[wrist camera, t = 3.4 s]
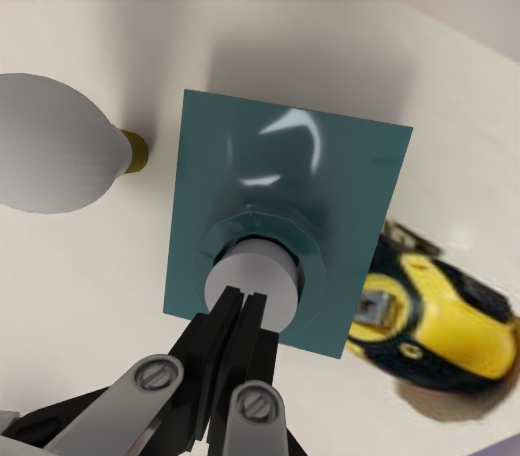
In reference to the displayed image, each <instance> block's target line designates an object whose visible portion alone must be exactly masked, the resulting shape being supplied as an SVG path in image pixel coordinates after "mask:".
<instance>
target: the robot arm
mask: <svg viewBox="0 0 520 456" xmlns="http://www.w3.org/2000/svg"><path fill="white" fill-rule="evenodd" d="M243 300H244V293H242V292H240V288H237V287H233V286H228V285H227V286H226V288H225V289H224V291H223V292H222V294H221V296H220V297H219V299H218V300H217V302H216V304H215V305H214V307H213V308H212V310H211V312H210V313H209V315H208V314H205V313H201V312H198V313H197V314H196V315H195V316H194V318H193V319H192V321H191V322H190V324H189V325H188V326H187V328H186V329H185V331H184V332H183V333H182V335H181V336H180V338H179V339H178V340H177V342H176V343H175V345H174V346H173V348H172V349H171V350H170V352H169V353H168V355H167V354H156V355H150V356H148V357H145V358H143V359H141V360H140V361H138V362H137V363H135V364H134V365H133V366H132V367H131V368H130V369H129V370H128V371H127V372H126V373H125V374H123V375H122V376H121V377H120V378H119V379H118V380H117V381H116V382H115V383H114V384H113V385H111V386H109V387H106V388H103V389H100V390H97V391H94V392H90V393H87V394H84V395H81V396H78V397H75V398H72V399H69V400H66V401H63V402H60V403H57V404H54V405H51V406H47V407H44V408H41V409H38V410H36V411H34V412H31V413H29V414H27V415H25V416H24V417H19V412H11V411H0V456H178V455H180V454H182V453H184V452H185V451H188V452H191V450H192V447H193V445H194V442H195V440H199V441H202V438H203V436H204V433H205V430H206V428H207V425H208V422H209V420H210V423H209V429H208V435H207V441H206V443H208V444H209V449H208V455H207V456H308V455H307V454H306V453H305V451H304V450H303V449H302V447H301V446H300V445H299V443H298V442H297V441H296V439H295V438H294V437H293V435H292V434H291V433H290V431H289V430H288V429H287V427H286V418H285V406H284V402H283V399H282V397H281V395H280V394H279V392H278V391H277V390H276V389H275V388H274V387H273V386H272V382H273V375H274V368H275V361H276V354H277V347H278V340H279V333H278V332H274V331H270V330H266V329H262V328H261V324H262V319H263V315H264V310H265V305H266V300H267V295H265V294H261V293H257V292H254V294H253V295H250V294H248V296H247V299H246V301H245V303H244V306H243ZM242 306H243V308H242ZM210 417H211V418H210Z"/></svg>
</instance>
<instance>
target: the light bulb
mask: <svg viewBox="0 0 520 456" xmlns="http://www.w3.org/2000/svg"><path fill="white" fill-rule="evenodd" d="M148 155H149V154H148V148H147V145H146V143H145V141H144V140H143V139H142V138H141V137H140V136H139V135H137V134H135V133H133V132H129V131H125V130H121V129H118V128H117V127H116V126H114V125H113V124H111V123H110V122H109V120H108V119H107V118H106V116H105V115H104V114H103V112H102V111H101V110H100V109H99V108H98V107H97V106H96V105H95V104H94V103H93V102H92V101H91V100H89V99H88V98H87V97H86V96H84V95H83V94H82V93H80V92H78V91H77V90H75V89H73V88H71V87H70V86H68V85H66V84H64V83H61V82H58V81H56V80H53V79H50V78H47V77H43V76H38V75H32V74H25V73H8V74H1V75H0V203H1V204H4V205H6V206H8V207H11V208H14V209H18V210H22V211H26V212H31V213H41V214H57V213H65V212H70V211H74V210H77V209H80V208H83V207H85V206H87V205H89V204H91V203H93V202H95V201H96V200H97V199H99V198H100V197H101V196H102V195H104V194H105V192H106V191H107V190H108V189H109V188H110V187H111V185H112V183H113V182H114V180H115V179H116V178H117V177H119V176H121V175H122V174H126V173H133V172H137V171H140V170H141V169H143V168H144V167H145V165H146V163H147V161H148Z"/></svg>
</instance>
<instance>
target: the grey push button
mask: <svg viewBox="0 0 520 456" xmlns="http://www.w3.org/2000/svg"><path fill="white" fill-rule="evenodd" d="M298 280H299V277H298V271H297V267H296V265H295V262H294V261H293V259H292V257H291V256H290V255H289V253H288V252H287V251H286V250H284V249H283V248H282V247H281V246H279V245H277V244H276V243H273V242H271V241H268V240H263V239H248V240H244V241H241V242H239V243H237V244H235V245H234V246H232V247H231V248H230V249H229V250H228V251H227V252H226V253H225V254H224V256H223V257H222V258H221V259H220V260H219V261H218V263H217V264H216V265H215V266H214V267H213V269H212V270H211V271H210V273H209V275H208V277H207V280H206V284H205V301H206V305H207V308H208V310H209V312H211V310H212V308H213V307H214V305H215V304H216V302H217V300H218V299H219V297H220V296H221V294H222V292H223V291H224V289H225V288H226V286H227V285H228V286H233V287H237V288H240V292H242V293H244V300H243V306H244V303H245V301H246V299H247V296H248V294H250V295H253V294H254V292H257V293H261V294H265V295H267V300H266V305H265V310H264V315H263V319H262V324H261V328H262V329H266V330H270V331H274V332H278V333H280V332H281V331H282V330H284V329H285V328H286V327H287V326H288V325H289V324H290V322H291V321H292V319H293V317H294V315H295V313H296V310H297V304H298ZM243 306H242V308H243Z"/></svg>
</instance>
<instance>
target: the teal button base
mask: <svg viewBox="0 0 520 456" xmlns="http://www.w3.org/2000/svg"><path fill="white" fill-rule="evenodd" d="M412 131H413V127H408V126H402V125H396V124H390V123H384V122H378V121H373V120H367V119H361V118H355V117H349V116H343V115H337V114H331V113H325V112H319V111H313V110H308V109H302V108H296V107H290V106H284V105H278V104H272V103H266V102H260V101H254V100H248V99H242V98H237V97H231V96H225V95H219V94H213V93H207V92H201V91H195V90H189V89H185V90H184V99H183V109H182V120H181V130H180V141H179V151H178V161H177V172H176V182H175V193H174V203H173V213H172V224H171V234H170V244H169V255H168V265H167V276H166V286H165V296H164V307H163V313H165V314H169V315H173V316H177V317H180V318H184V319H188V320H192V319H193V318H194V316H195V315H196V314H197V313H198V312H201V313H205V314H208V315H209V313H210V312H209V310H208V308H207V305H206V301H205V284H206V280H207V277H208V275H209V273H210V271H211V270H212V269H213V267H214V266H215V265H216V264H217V263H218V261H219V260H220V259H221V258H222V257H223V256H224V254H225V253H226V252H227V251H228V250H229V249H230V248H231V247H232V246H234V245H235V244H237V243H239V242H241V241H244V240H248V239H263V240H268V241H271V242H273V243H276V244H277V245H279V246H281V247H282V248H283V249H284V250H286V251H287V252H288V253H289V255H290V256H291V257H292V259H293V261H294V262H295V265H296V267H297V271H298V277H299V280H298V304H297V310H296V313H295V315H294V317H293V319H292V321H291V322H290V324H289V325H288V326H287V327H286V328H285V329H284V330H282V331H281V332H280V333H279V340H278V343H279V344H283V345H287V346H291V347H295V348H298V349H302V350H306V351H310V352H314V353H317V354H321V355H325V356H329V357H333V358H336V359H341V356H342V352H343V349H344V346H345V343H346V340H347V337H348V334H349V330H350V327H351V324H352V321H353V318H354V315H355V311H356V308H357V305H358V302H359V299H360V296H361V292H362V289H363V286H364V283H365V280H366V277H367V274H368V270H369V267H370V264H371V261H372V258H373V255H374V251H375V248H376V245H377V242H378V239H379V236H380V232H381V229H382V226H383V223H384V220H385V217H386V214H387V210H388V207H389V204H390V201H391V198H392V195H393V191H394V188H395V185H396V182H397V179H398V176H399V172H400V169H401V166H402V163H403V160H404V157H405V153H406V150H407V147H408V144H409V141H410V138H411V135H412Z"/></svg>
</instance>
